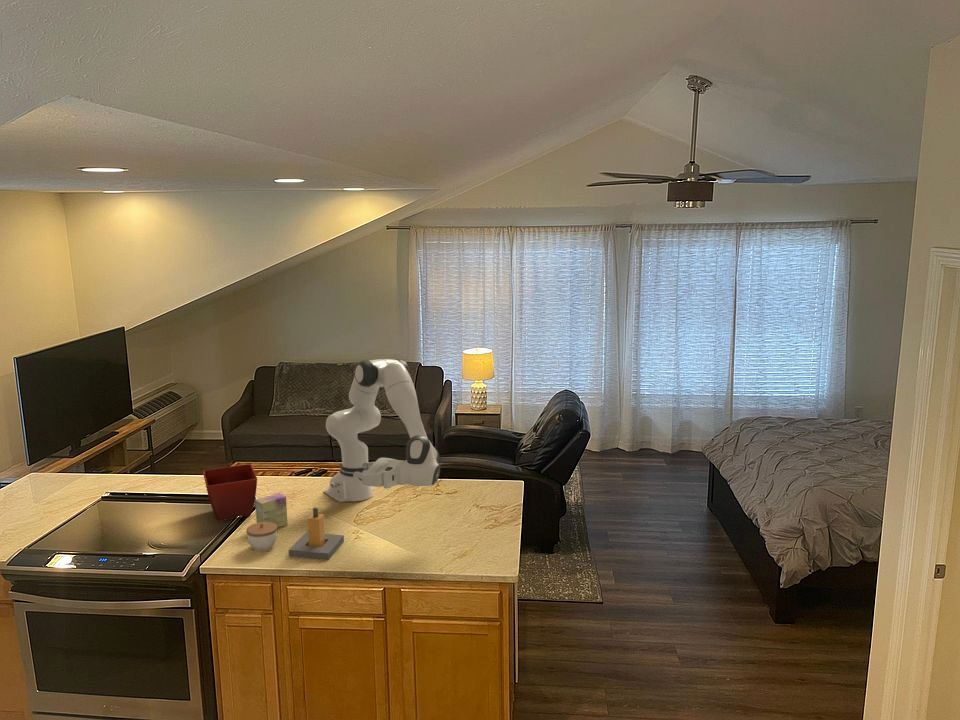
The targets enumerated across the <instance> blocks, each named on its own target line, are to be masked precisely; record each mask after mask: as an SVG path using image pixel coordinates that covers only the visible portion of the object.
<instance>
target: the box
mask: <svg viewBox="0 0 960 720" xmlns="http://www.w3.org/2000/svg"><path fill="white" fill-rule="evenodd" d="M254 505H255V517H256V519H255V520H256V523H259V522H272V523H275V524H276V525H277V529H278V528H281V527H284V526H288V511H287V510H288V507H287V496H286V495H284V494H282V493H279V492H278V493H274V494H270V495H267V496H264V497H261V498H255V501H254Z"/></svg>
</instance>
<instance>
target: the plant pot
mask: <svg viewBox="0 0 960 720" xmlns="http://www.w3.org/2000/svg"><path fill="white" fill-rule="evenodd" d="M255 472H256V471H254V468H253V465H252V464H250V463H247V464H241V465H240V464H239V465H233V466H225V467H224V466H223V467H218V468H211V469H204V470H203V471H202V473H203V479H204V483H205V488H206V492H207V495H208V499H209V503H210V506H211V508H212V512H213V513H214V516H215V519H216V520H224V519H230V520H232V519H231V518H235V517H237V516H240V515H242V516H244V517H243V518H248V517H250V516H251V515H252V513H253V512H252V511H253V509H254V505H255V500H256V495H257V486H258V484H257V483H258V476H257V475H256V473H255ZM224 521H225V520H224Z"/></svg>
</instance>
